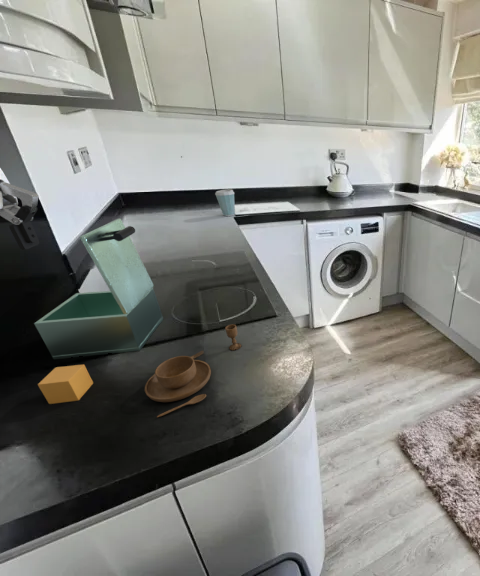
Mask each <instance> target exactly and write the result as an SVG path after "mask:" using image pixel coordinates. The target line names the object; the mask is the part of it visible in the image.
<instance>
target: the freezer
mask: <svg viewBox="0 0 480 576" xmlns="http://www.w3.org/2000/svg"><path fill="white" fill-rule="evenodd" d="M163 321H164V316H163V313H162V311H161V307H160V304H159V301H158V298H157V295H156V293H155V289H154V287H153V288H152V289H151V290H150V291H149V292H148V293H147V294H146V295H145V296H144V297H143V298H142V299H141V300H140V301H139V302H138V303H137V304H136V305H135V306H134V307H133V308H132V309H131V310H130V311H129V312H128V313H127V314H123V312H122V310H121V308H120V307H119V305H118V303H117V302H116V300H115V298H114V296H113V295H112V293H111V291H110V290H104V291H101V290H100V291H89V292H76V293H74V294H73V295H72V296H70V297H69V298H68V299H66V300H65V301H64V302H62V303H60V304H59V305H58V306H56V307H55V308H54V309H52V310H51V311H50V312H48V313H46V314H45V315H44V316H43V317H41V318H39V319H38V320H37V321H36V322H34V323H33V324H34V326H35V328H36V330H37V332H38V333H39V336H40V337H41V339H42V340H43V342H44V344H45V346H46V348H47V350H48V352H49V354H50V355H51V358H52V359H53V360H62V359H72V358H71V357H73V358H80V357H79V356H83V357H91V356H102V355H109V354H108V353H112V354H121V353H132V352H141V350H142V349H143V347H144V346H145V344H146V343H147V342H148V341H149V339H150V338H151V337H150V336H152V335H153V334H154V333H155V331H156V330H157V328H158V327H159V326H160V325H161V323H162V322H163ZM153 332H154V333H153ZM147 340H148V341H147Z"/></svg>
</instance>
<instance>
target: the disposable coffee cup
mask: <svg viewBox="0 0 480 576" xmlns="http://www.w3.org/2000/svg"><path fill="white" fill-rule="evenodd" d="M214 195H215V197H216V200H217V202H218V205H219V208H220V211H221V213H222V215H223V216H224V217H232V216H235V215H236V207H235V206H236V205H235V204H236V203H235V191H234V189H231V188H225V189H220V190H217V191H215V193H214Z"/></svg>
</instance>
